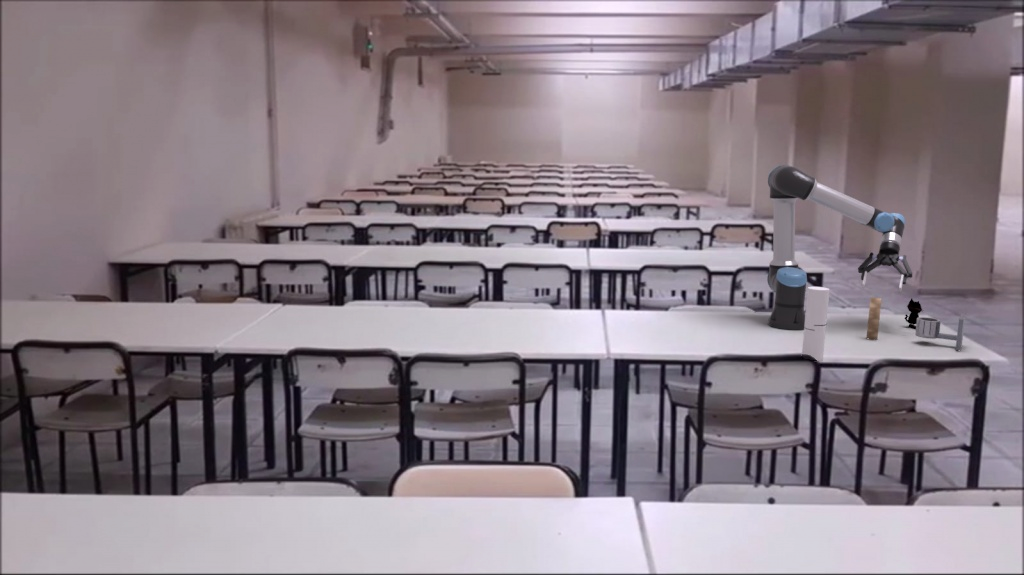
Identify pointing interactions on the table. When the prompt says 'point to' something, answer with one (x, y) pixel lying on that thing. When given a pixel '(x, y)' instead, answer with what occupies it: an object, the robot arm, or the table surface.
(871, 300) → the brown wooden block
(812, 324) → the cylindrical container
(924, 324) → the cup bracket
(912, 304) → the cat figurine
